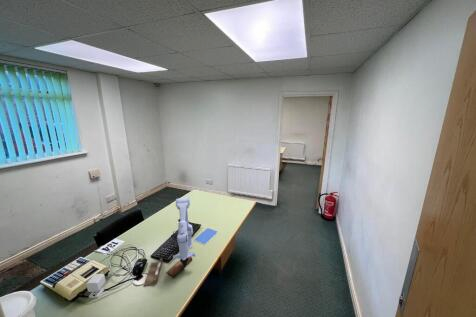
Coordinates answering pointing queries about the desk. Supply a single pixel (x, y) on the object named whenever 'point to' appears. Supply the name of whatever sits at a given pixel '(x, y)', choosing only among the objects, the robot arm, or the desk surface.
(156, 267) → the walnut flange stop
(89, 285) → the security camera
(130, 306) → the desk surface
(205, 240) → the tablet computer
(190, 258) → the sunglasses case
